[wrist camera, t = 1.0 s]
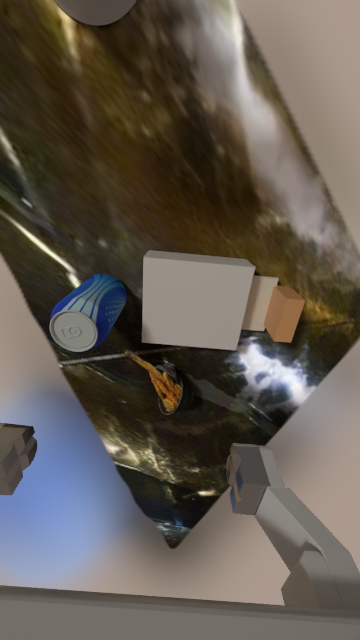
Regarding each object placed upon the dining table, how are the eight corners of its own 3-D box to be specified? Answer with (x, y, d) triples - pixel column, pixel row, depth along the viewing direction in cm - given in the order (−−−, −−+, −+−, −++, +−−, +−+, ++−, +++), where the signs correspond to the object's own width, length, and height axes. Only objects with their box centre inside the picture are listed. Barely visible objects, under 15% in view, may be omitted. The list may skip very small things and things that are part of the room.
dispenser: (148, 250, 44) (143, 257, 39) (251, 259, 44) (261, 268, 39) (146, 327, 51) (141, 342, 46) (235, 335, 52) (241, 350, 46)
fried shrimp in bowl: (177, 421, 57) (105, 409, 48) (177, 376, 63) (114, 358, 54) (204, 414, 51) (128, 398, 42) (201, 365, 57) (134, 342, 48)
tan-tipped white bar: (169, 267, 44) (166, 278, 38) (290, 278, 45) (308, 291, 38) (165, 321, 49) (162, 339, 43) (275, 330, 49) (288, 349, 43)
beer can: (91, 264, 45) (48, 294, 31) (134, 282, 47) (111, 318, 32) (80, 302, 49) (37, 344, 35) (120, 318, 50) (94, 365, 36)
